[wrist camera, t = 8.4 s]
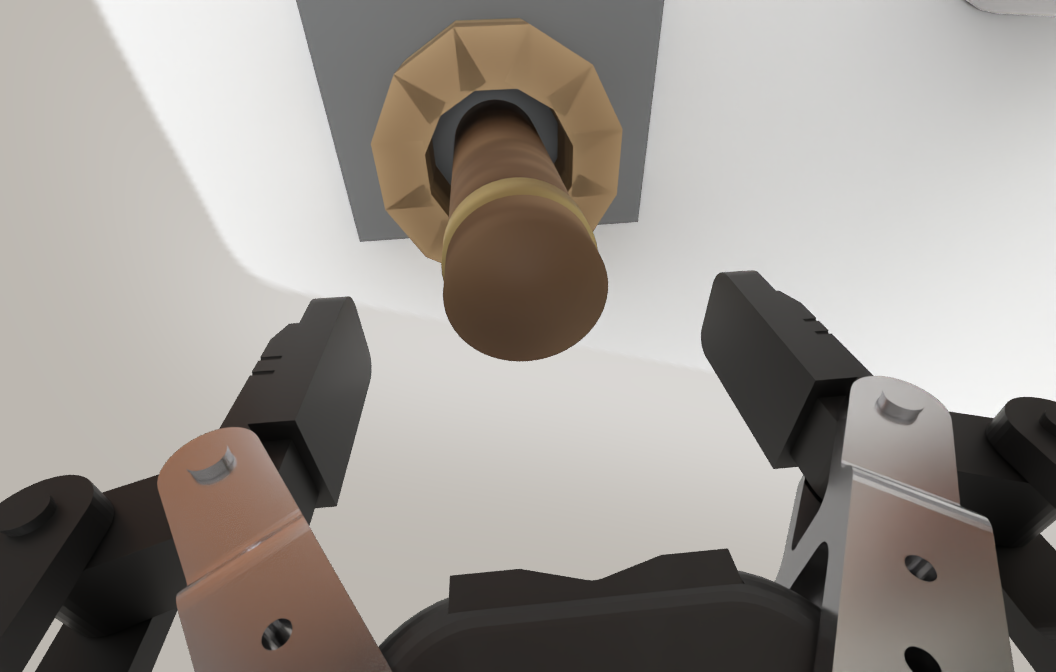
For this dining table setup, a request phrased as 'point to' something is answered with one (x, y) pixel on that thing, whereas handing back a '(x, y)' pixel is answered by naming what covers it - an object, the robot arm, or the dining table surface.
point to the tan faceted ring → (491, 64)
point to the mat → (417, 17)
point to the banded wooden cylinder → (516, 243)
